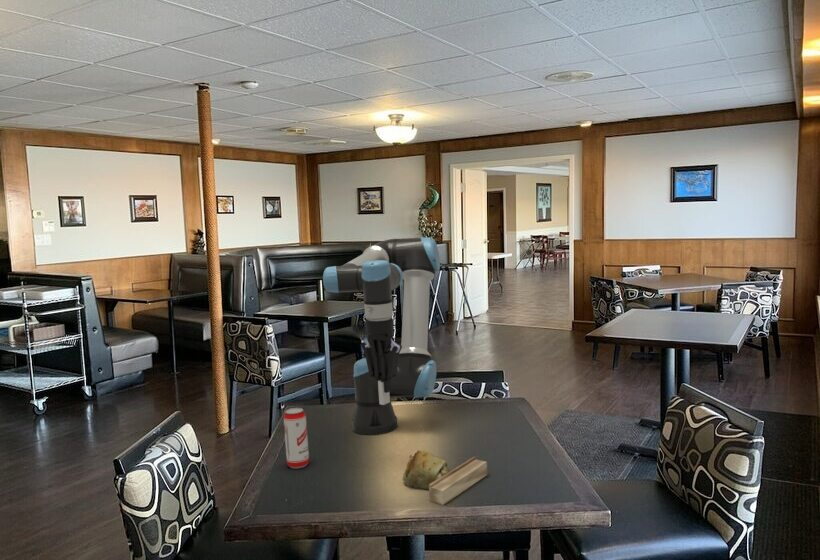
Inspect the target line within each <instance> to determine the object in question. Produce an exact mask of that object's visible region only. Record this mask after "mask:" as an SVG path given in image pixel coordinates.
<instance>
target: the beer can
mask: <svg viewBox="0 0 820 560" xmlns="http://www.w3.org/2000/svg"><path fill="white" fill-rule="evenodd" d="M283 428H284V441H285V442H284V443H285V454H286V457H285V458H286V464H287V466H288V467H290V468H291V469H295V470H296V469H297V470H298V469H303V468H305V467H307V465H308V464H309V462H310V452H309V441H308V440H309V439H308V426H307V414H306V413H305V411H304V409H303V407H291V408H287V409H285V411H284V415H283Z"/></svg>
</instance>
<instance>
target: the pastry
mask: <svg viewBox="0 0 820 560" xmlns="http://www.w3.org/2000/svg"><path fill="white" fill-rule="evenodd" d="M450 471H451V470H450V469H449V467H448V462H447V461H446V460H444V459H442V458H440V457H439V456H438V457H437V456H435V455H434V454H433V453H432V452H430V451H423V450H417V451H416V452H415V453H414V454H413V455H409V459H408V462H407V464H406V469H405V470H404V472H403V474H402V481H403V482H404V483H405V485H406V486H408V487H410V488H413V489H422V490H428V491H429V484H431V483H432V482H434V481H436V480H437V479H439V478H440V477H442V476H444V475H445V474H447V473H448V472H450Z"/></svg>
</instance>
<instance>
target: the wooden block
mask: <svg viewBox="0 0 820 560" xmlns="http://www.w3.org/2000/svg"><path fill="white" fill-rule="evenodd" d="M449 471H450V472H448V473H447V474H445V475H444V476H442V477H440V478H439V479H437V480H436V481H434V482H432V483H431V484H429V490H428V495H429V502H432V503H435V504H439V505H442V506H444V505H446V504H447V503H448V502H449V501H450V502H451V500H453V499H454V498H455V497H457V496H459V495H460V494H461V493H463V492H465V491H466V490H467V489H469V488H470V487H472V486H473V485H475V484H476V483H477V482H479V481H481V480H482V479H483V478H485V477H486V476H488V462H487V461H484V460H480V459H476V456H473V457H471V458H469V459H468V460H466V461H465V462H463V463H461V464H460V465H458V466H456V467H455V468H453V469H452V470H449Z"/></svg>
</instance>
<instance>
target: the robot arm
mask: <svg viewBox="0 0 820 560" xmlns="http://www.w3.org/2000/svg"><path fill="white" fill-rule="evenodd" d="M440 269H441V259H440V252H439V248H438V244H437V242H436V240H435V239H434V238H433V237H424V236H420V237H407V238H406V237H403V238H391V239H385V240H382V241H380V242H377V243H374V244H372V245H371V246H368V247H367V248H366V249H364V250H363V252H362V254H361V255H358V256H357V257H355V258H353V259H352V260H350V261H347V263H343V265H340V266H339V265H337V266H336V265H334V266H328V267H326V268H324V271H323V274H322V282H323V287H324V290H325V291H327V292H328V293H337V294H339V293H356V292H358V293H359V292H360V293H362V292H363V303H364V304H363V306H364V316H365V317H364V318H365V333H366V334H367V336H366V340H365V341H362V342H361V343H360V346H361V349H362V350H363V353H364V358H361V359H359V360H357V361H356V362H355V363H354V365H353V376H352V377H353V383H354V385H353V386H354V398H355V408H354V412H353V416H352V419H351V430H352V431H353V432H354V433H357V434H359V435H365V436H366V435H367V436H368V435H372V436H373V435H374V436H375V435H382V434H386V433H389V432H392V431H394V430H396V429H397V428H398V425H399V423H398V417H397V415H396V414H395V410H394V407H393V404H392V398H415V399H418V398H427V397H429V396H430V395H431V394H433V391H434V389H435V386H436V380H437V363H436V361H435V360H433V359H432V357H433V356H432V354H430V353H429V351H428V342H429V341H428V338H429V317H430V316H429V315H430V314H429V313H430V312H429V310H430V291H431V290H430V287H431V284H430V283H431V281H432V280H433V279H434V278H435V272H436V273H437V272H439V271H440ZM403 280H404V282H403ZM402 282H403V284H404V285H403V301H402V303H403V305H402V323H401V324H402V325H401V343H400V344H398V343H396V342H395V338H394V336H393V334H394V331H395V328H394V327H395V326H394V319H393V316H394V311H393V298H392V291H394V290H396V289H397V288H398V287H399V286H400V285H401V284H402Z"/></svg>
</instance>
